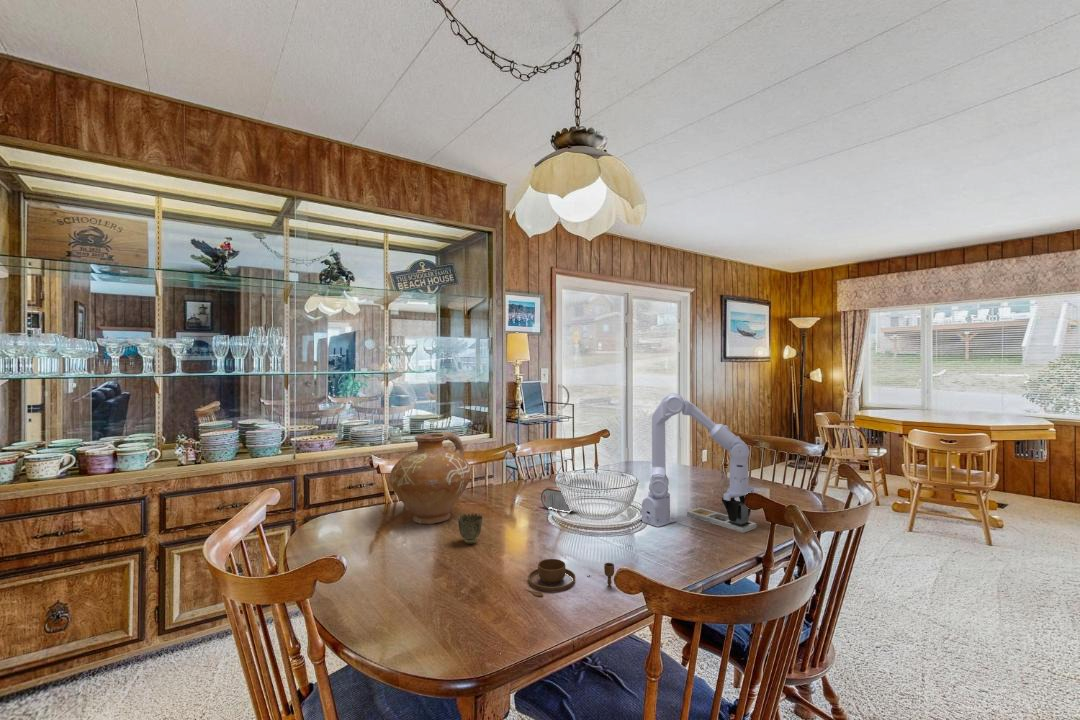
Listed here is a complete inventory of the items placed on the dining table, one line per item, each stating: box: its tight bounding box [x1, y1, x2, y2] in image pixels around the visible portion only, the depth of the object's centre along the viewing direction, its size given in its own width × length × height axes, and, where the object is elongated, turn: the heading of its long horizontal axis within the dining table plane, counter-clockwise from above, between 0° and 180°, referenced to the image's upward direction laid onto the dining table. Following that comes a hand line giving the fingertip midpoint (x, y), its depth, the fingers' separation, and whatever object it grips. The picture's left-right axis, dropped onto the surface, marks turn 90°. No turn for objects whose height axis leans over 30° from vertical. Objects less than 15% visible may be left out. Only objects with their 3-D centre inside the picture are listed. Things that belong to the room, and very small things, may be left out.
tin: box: [540, 485, 570, 511], centre depth 180 cm, size 15×3×8 cm, turn 58°
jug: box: [389, 431, 472, 525], centre depth 173 cm, size 28×28×30 cm
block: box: [730, 500, 749, 527], centre depth 161 cm, size 4×4×8 cm
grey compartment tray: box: [686, 507, 758, 534], centre depth 167 cm, size 8×22×2 cm, turn 36°
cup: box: [457, 512, 483, 545], centre depth 150 cm, size 8×7×8 cm
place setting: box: [523, 558, 615, 598], centre depth 121 cm, size 18×20×6 cm
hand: (739, 518), depth 161 cm, fingers open, 7 cm apart
